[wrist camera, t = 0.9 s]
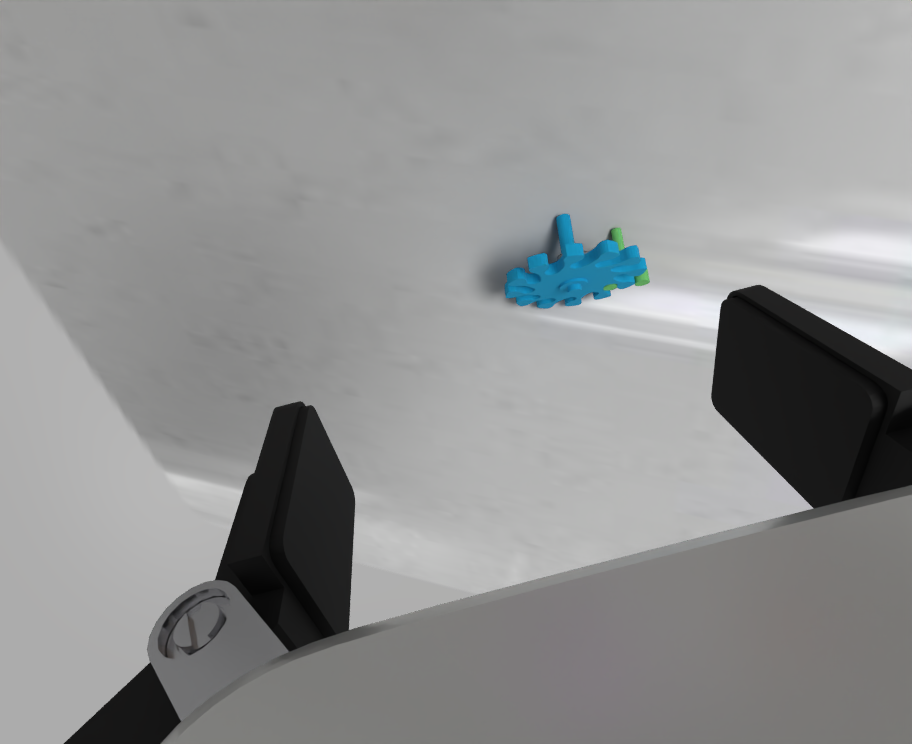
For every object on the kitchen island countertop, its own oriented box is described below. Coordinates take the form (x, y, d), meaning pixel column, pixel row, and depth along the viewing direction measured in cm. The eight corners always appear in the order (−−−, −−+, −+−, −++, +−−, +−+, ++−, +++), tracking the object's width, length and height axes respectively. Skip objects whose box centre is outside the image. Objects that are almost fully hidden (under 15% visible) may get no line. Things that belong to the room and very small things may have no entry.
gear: (486, 314, 38) (544, 258, 29) (478, 245, 39) (531, 169, 30) (606, 315, 41) (694, 265, 32) (596, 251, 43) (677, 185, 33)
